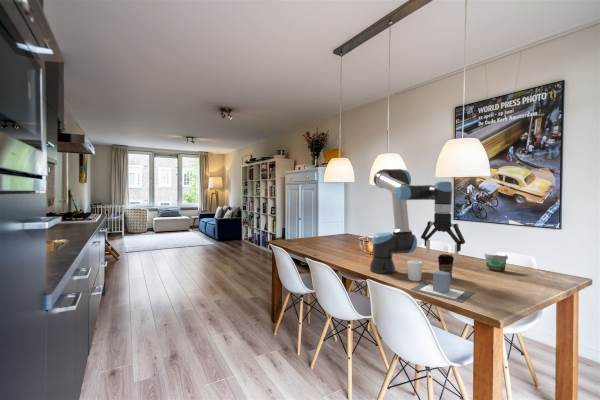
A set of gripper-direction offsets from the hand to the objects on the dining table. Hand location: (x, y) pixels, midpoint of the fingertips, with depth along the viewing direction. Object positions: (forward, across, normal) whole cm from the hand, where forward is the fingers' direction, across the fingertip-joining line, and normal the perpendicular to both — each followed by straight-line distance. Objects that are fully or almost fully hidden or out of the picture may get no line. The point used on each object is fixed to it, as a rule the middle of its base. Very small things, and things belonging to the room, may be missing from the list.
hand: (441, 255), depth 144 cm
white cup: (+18, -17, +8) cm, 27 cm away
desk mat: (+18, +1, 0) cm, 18 cm away
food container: (+19, +11, +60) cm, 64 cm away
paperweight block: (+18, +1, 0) cm, 18 cm away
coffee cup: (+18, -6, +24) cm, 31 cm away
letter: (+18, +1, 0) cm, 18 cm away
